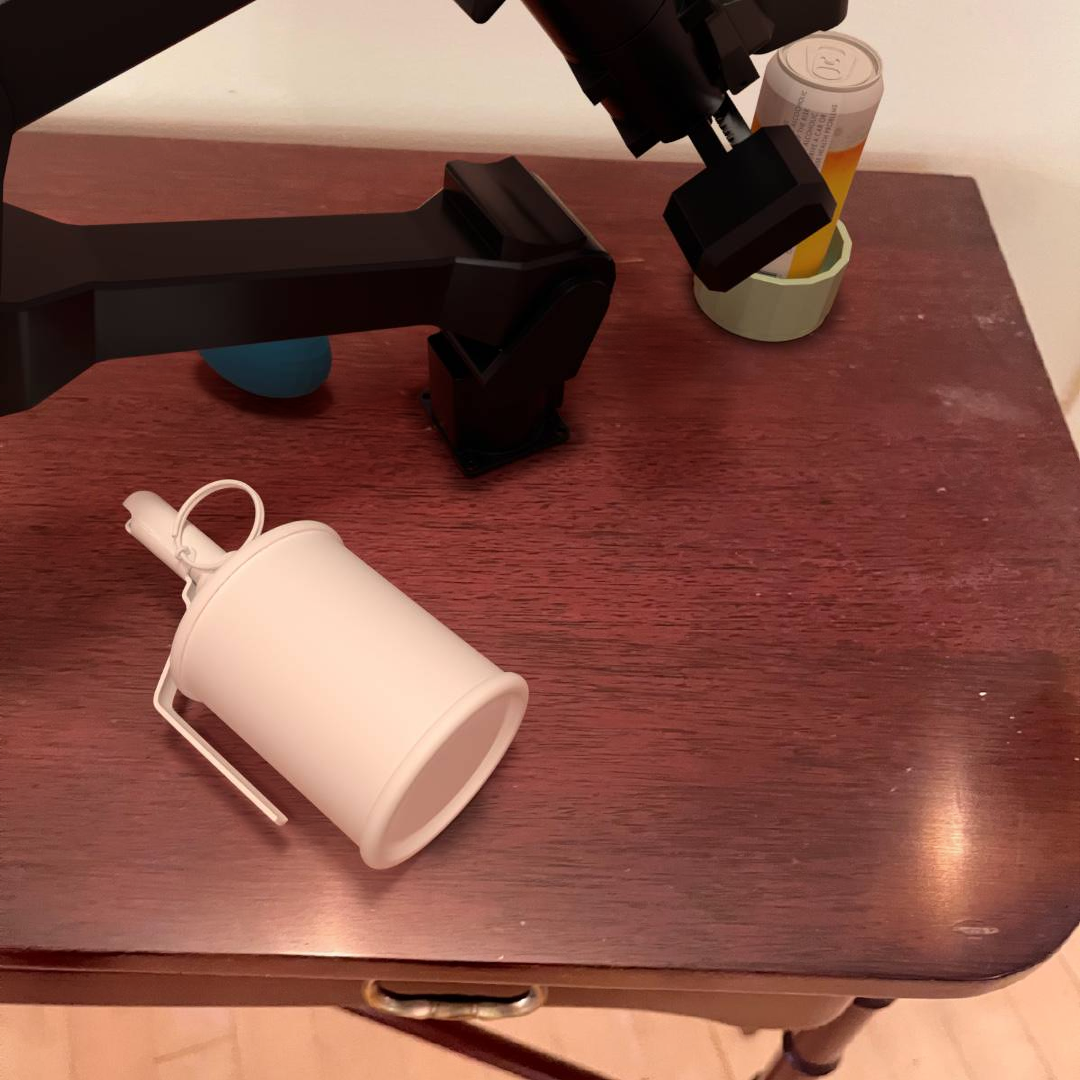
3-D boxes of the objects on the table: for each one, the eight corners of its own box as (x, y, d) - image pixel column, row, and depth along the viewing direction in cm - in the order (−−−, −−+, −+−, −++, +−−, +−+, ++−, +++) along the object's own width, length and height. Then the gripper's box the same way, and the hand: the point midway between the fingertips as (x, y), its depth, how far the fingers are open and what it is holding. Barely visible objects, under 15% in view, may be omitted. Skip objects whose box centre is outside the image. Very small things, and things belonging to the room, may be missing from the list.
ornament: (356, 376, 58) (336, 234, 49) (319, 434, 55) (291, 293, 47) (226, 337, 59) (186, 191, 51) (184, 391, 56) (135, 246, 48)
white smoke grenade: (547, 705, 45) (246, 468, 51) (508, 656, 36) (152, 379, 43) (393, 901, 43) (101, 629, 49) (313, 898, 34) (-27, 569, 41)
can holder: (745, 359, 60) (762, 301, 56) (667, 271, 64) (678, 212, 60) (857, 315, 63) (881, 258, 59) (775, 234, 67) (793, 175, 63)
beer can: (814, 267, 64) (895, 38, 52) (804, 331, 61) (887, 102, 49) (721, 247, 65) (778, 16, 53) (705, 309, 62) (763, 77, 49)
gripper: (921, -2, 32) (981, 224, 46) (687, -298, 40) (797, -31, 53) (634, 208, 36) (766, 360, 50) (471, -98, 44) (623, 105, 57)
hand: (740, 187), depth 52 cm, fingers open, 9 cm apart
